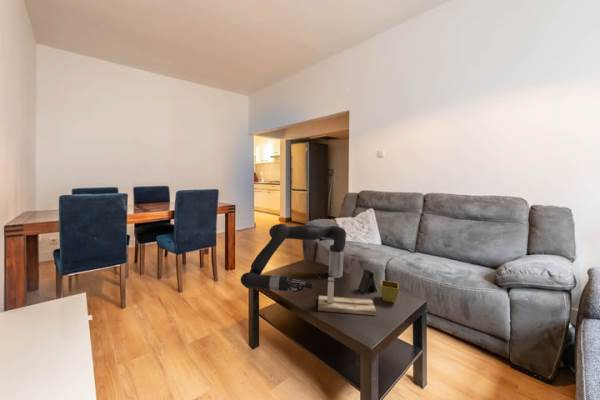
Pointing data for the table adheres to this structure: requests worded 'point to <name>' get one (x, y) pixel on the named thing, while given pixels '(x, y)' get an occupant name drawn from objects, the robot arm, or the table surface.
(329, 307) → the wooden slider board
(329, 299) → the fader knob
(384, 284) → the flower pot
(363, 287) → the phone stand
